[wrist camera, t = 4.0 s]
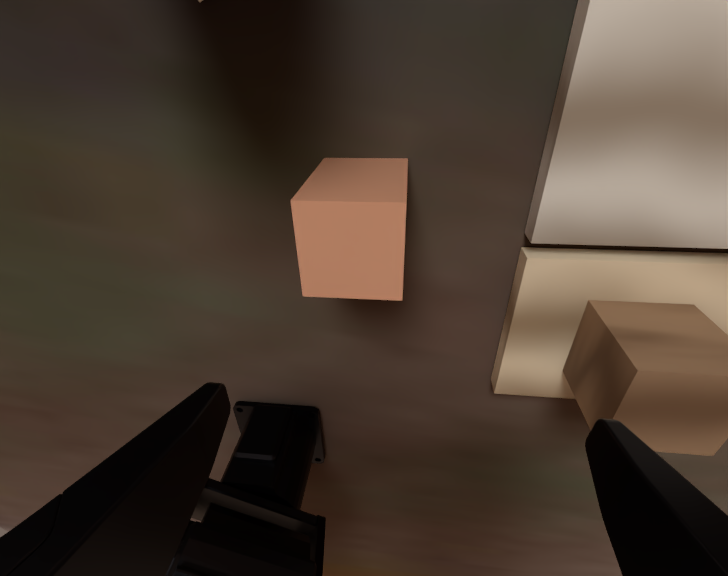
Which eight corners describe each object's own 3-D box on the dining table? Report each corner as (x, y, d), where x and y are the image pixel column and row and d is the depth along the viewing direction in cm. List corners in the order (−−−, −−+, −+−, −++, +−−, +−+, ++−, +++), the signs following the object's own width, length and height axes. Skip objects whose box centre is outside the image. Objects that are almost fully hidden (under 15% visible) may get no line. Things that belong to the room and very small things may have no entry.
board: (688, 391, 23) (701, 407, 22) (490, 379, 24) (494, 393, 23) (958, -23, 12) (1007, -30, 11) (580, -10, 14) (593, -14, 13)
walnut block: (654, 375, 21) (712, 455, 17) (562, 370, 22) (597, 446, 18) (694, 304, 19) (775, 378, 14) (588, 300, 19) (637, 370, 15)
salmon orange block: (404, 236, 20) (402, 300, 15) (330, 234, 20) (303, 296, 15) (408, 158, 18) (406, 202, 13) (324, 158, 18) (290, 200, 13)
